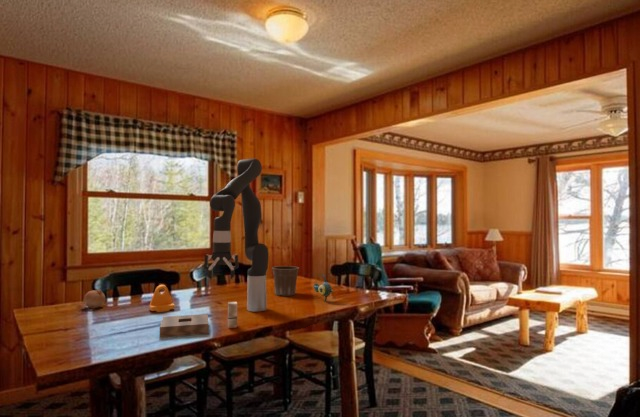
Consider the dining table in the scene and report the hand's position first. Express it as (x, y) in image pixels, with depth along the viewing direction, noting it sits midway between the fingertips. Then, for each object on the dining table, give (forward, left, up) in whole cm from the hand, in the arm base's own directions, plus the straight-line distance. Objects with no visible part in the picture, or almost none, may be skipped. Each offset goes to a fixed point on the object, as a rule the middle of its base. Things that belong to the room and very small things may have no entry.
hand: (221, 278), depth 170 cm
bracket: (+26, -35, -20) cm, 48 cm away
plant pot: (-41, -57, -20) cm, 73 cm away
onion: (+59, -49, -20) cm, 80 cm away
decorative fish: (-57, -33, -20) cm, 68 cm away
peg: (-5, +4, -20) cm, 21 cm away
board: (+14, +4, -20) cm, 25 cm away
